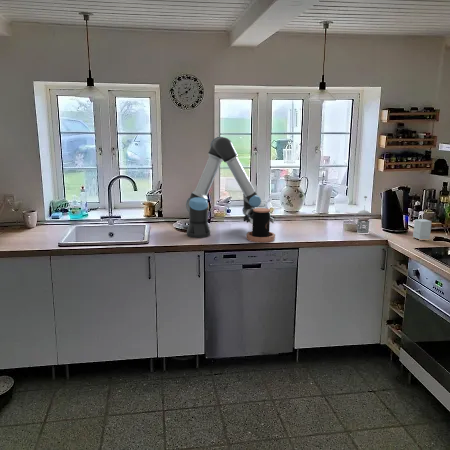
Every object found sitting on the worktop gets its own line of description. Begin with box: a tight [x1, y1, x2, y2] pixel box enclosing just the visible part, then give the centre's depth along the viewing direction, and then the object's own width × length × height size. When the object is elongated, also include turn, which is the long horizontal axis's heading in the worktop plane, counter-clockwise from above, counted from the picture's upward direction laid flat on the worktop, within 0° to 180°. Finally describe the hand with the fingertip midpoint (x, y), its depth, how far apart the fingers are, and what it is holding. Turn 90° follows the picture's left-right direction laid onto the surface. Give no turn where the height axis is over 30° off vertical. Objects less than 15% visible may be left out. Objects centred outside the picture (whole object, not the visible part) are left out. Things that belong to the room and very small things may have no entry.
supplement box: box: [412, 218, 433, 240], centre depth 275 cm, size 7×7×13 cm
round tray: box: [245, 230, 276, 243], centre depth 272 cm, size 17×17×3 cm
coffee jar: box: [251, 207, 271, 237], centre depth 270 cm, size 11×11×18 cm
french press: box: [352, 195, 371, 233], centre depth 290 cm, size 10×12×25 cm
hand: (262, 221), depth 267 cm, fingers open, 13 cm apart
